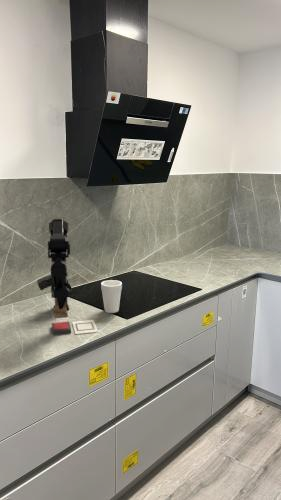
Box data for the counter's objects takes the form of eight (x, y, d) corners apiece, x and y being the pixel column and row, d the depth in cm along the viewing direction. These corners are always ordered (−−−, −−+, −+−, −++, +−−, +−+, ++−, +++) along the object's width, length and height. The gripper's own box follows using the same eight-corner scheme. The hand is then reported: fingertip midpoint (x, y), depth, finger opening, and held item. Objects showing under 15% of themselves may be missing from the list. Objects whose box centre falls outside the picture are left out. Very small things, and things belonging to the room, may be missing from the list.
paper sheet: (72, 322, 166) (72, 321, 166) (93, 320, 168) (93, 319, 168) (75, 334, 155) (75, 333, 154) (98, 332, 157) (98, 331, 157)
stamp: (53, 313, 159) (53, 295, 157) (66, 312, 161) (65, 294, 159) (54, 318, 155) (54, 299, 153) (67, 317, 156) (67, 298, 154)
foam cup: (103, 315, 174) (103, 287, 171) (99, 307, 183) (99, 281, 180) (124, 313, 177) (124, 285, 174) (119, 305, 185) (119, 279, 182)
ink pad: (51, 326, 162) (51, 322, 161) (69, 324, 164) (68, 320, 163) (53, 334, 154) (52, 330, 154) (71, 332, 156) (70, 328, 156)
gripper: (37, 264, 160) (39, 300, 163) (38, 278, 142) (40, 318, 146) (64, 263, 163) (66, 298, 166) (69, 275, 145) (70, 315, 149)
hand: (60, 307), depth 157 cm, fingers closed on stamp, 4 cm apart
